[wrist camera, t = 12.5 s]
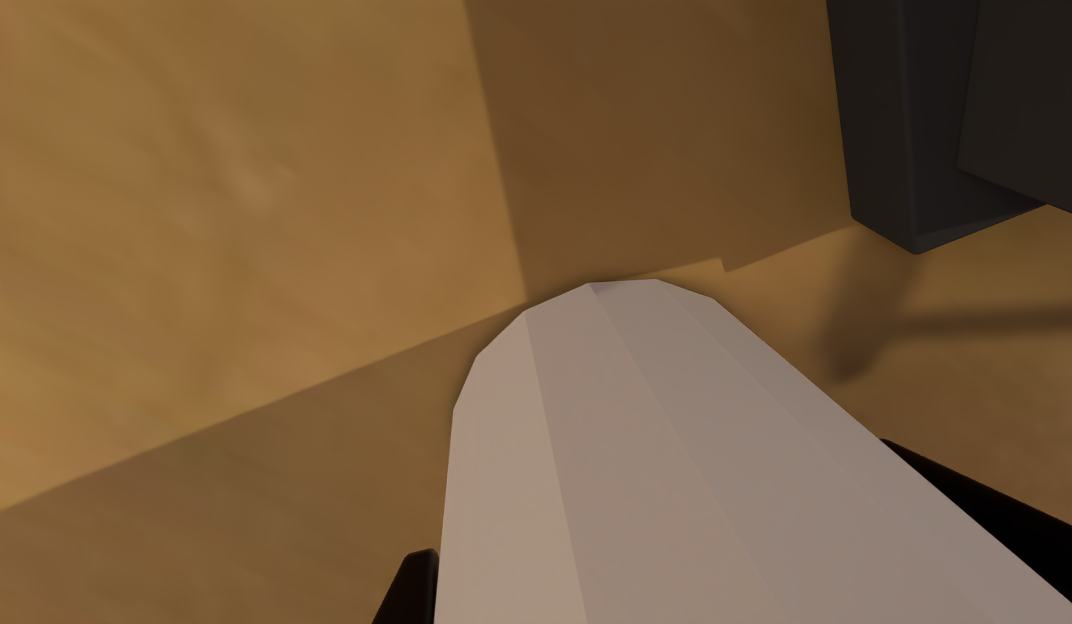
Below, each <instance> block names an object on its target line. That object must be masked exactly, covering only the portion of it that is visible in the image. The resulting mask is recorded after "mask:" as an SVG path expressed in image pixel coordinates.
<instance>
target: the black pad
mask: <svg viewBox="0 0 1072 624" xmlns="http://www.w3.org/2000/svg"><path fill="white" fill-rule="evenodd" d="M956 168H957V169H958V170H960V171H963V172H966V173H968V174H971V175H973V176H976V177H979V178H981V179H984V180H986V181H989V182H992V183H994V184H997V185H1000V186H1002V187H1005V188H1007V189H1010V190H1013V191H1015V192H1018V193H1020V194H1023V195H1026V196H1028V197H1031V198H1033V199H1036V200H1039V201H1041V202H1044V203H1046V204H1049V205H1052V206H1054V207H1057V208H1060V209H1062V210H1065V211H1067V212H1070V213H1072V0H980V1H979V8H978V15H977V22H976V29H975V36H974V43H973V49H972V56H971V63H970V70H969V77H968V84H967V91H966V98H965V105H964V112H963V119H962V125H961V132H960V139H959V146H958V153H957V160H956Z"/></svg>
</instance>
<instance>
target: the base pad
mask: <svg viewBox="0 0 1072 624" xmlns="http://www.w3.org/2000/svg"><path fill="white" fill-rule="evenodd" d="M979 1H980V0H826V3H827V11H828V20H829V28H830V37H831V45H832V54H833V62H834V71H835V80H836V88H837V97H838V105H839V114H840V122H841V131H842V139H843V148H844V156H845V165H846V173H847V182H848V190H849V199H850V207H851V215H852V217H853V219H855V220H856V221H858V222H860V223H861V224H863V225H865V226H866V227H868V228H870V229H872V230H873V231H875V232H877V233H878V234H880V235H882V236H883V237H885V238H887V239H888V240H890V241H892V242H893V243H895V244H897V245H899V246H900V247H902V248H904V249H905V250H907V251H909V252H910V253H912V254H915V255H916V254H921V253H923V252H926V251H929V250H931V249H934V248H936V247H939V246H941V245H944V244H946V243H949V242H952V241H954V240H957V239H959V238H962V237H964V236H967V235H969V234H972V233H975V232H977V231H980V230H982V229H985V228H987V227H990V226H992V225H995V224H998V223H1000V222H1003V221H1005V220H1008V219H1010V218H1013V217H1015V216H1018V215H1021V214H1023V213H1026V212H1028V211H1031V210H1033V209H1036V208H1038V207H1041V206H1044V205H1046V203H1044V202H1041V201H1039V200H1036V199H1033V198H1031V197H1028V196H1026V195H1023V194H1020V193H1018V192H1015V191H1013V190H1010V189H1007V188H1005V187H1002V186H1000V185H997V184H994V183H992V182H989V181H986V180H984V179H981V178H979V177H976V176H973V175H971V174H968V173H966V172H963V171H960V170H958V169H957V168H956V160H957V153H958V146H959V139H960V132H961V125H962V119H963V112H964V105H965V98H966V91H967V84H968V77H969V70H970V63H971V56H972V49H973V43H974V36H975V29H976V22H977V15H978V8H979Z"/></svg>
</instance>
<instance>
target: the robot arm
mask: <svg viewBox="0 0 1072 624" xmlns="http://www.w3.org/2000/svg"><path fill="white" fill-rule="evenodd" d="M879 440H880V441H881V442H883V443H884V444H885V445H886V446H887V447H889V448H890V449H891V450H892V451H893V452H894V453H896V454H897V455H898V456H899V457H900V458H901V459H903V460H904V461H905V462H906V463H907V464H909V465H910V466H911V467H912V468H913V469H914V470H916V471H917V472H918V473H919V474H920V475H921V476H923V477H924V478H925V479H926V480H927V481H929V482H930V483H931V484H932V485H933V486H934V487H936V488H937V489H938V490H939V491H940V492H942V493H943V494H944V495H945V496H946V497H947V498H949V499H950V500H951V501H952V502H953V503H954V504H956V505H957V506H958V507H959V508H960V509H962V510H963V511H964V512H965V513H966V514H967V515H969V516H970V517H971V518H972V519H973V520H974V521H976V522H977V523H978V524H979V525H980V526H982V527H983V528H984V529H985V530H986V531H987V532H989V533H990V534H991V535H992V536H993V537H994V538H996V539H997V540H998V541H999V542H1000V543H1002V544H1003V545H1004V546H1005V547H1006V548H1007V549H1009V550H1010V551H1011V552H1012V553H1013V554H1015V555H1016V556H1017V557H1018V558H1019V559H1020V560H1022V561H1023V562H1024V563H1025V564H1026V565H1027V566H1029V567H1030V568H1031V569H1032V570H1033V571H1035V572H1036V573H1037V574H1038V575H1039V576H1040V577H1042V578H1043V579H1044V580H1045V581H1046V582H1047V583H1049V584H1050V585H1051V586H1052V587H1053V588H1055V589H1056V590H1057V591H1058V592H1059V593H1060V594H1062V595H1063V596H1064V597H1065V598H1066V599H1068V600H1069V601H1070V602H1071V603H1072V525H1070V524H1068V523H1065V522H1063V521H1061V520H1059V519H1057V518H1055V517H1053V516H1050V515H1048V514H1046V513H1044V512H1042V511H1040V510H1037V509H1035V508H1033V507H1031V506H1029V505H1027V504H1025V503H1022V502H1020V501H1018V500H1016V499H1014V498H1012V497H1009V496H1007V495H1005V494H1003V493H1001V492H999V491H997V490H994V489H992V488H990V487H988V486H986V485H984V484H981V483H979V482H977V481H975V480H973V479H971V478H969V477H966V476H964V475H962V474H960V473H958V472H956V471H953V470H951V469H949V468H947V467H945V466H943V465H941V464H938V463H936V462H934V461H932V460H930V459H928V458H925V457H923V456H921V455H919V454H917V453H915V452H913V451H910V450H908V449H906V448H904V447H902V446H900V445H897V444H895V443H893V442H891V441H889V440H886V439H879ZM439 562H440V560H439V557H438V554H437V552H436V551H435V550H434V549H430V548H429V549H425V550H421V551H417V552H413V553H410V554H408V555H407V556H406V557H405V558H404V560H403V562H402V564H401V566H400V568H399V570H398V572H397V574H396V576H395V578H394V580H393V582H392V584H391V586H390V588H389V590H388V592H387V594H386V596H385V598H384V600H383V602H382V604H381V606H380V608H379V610H378V612H377V614H376V616H375V618H374V620H373V622H372V624H434V616H435V605H436V595H437V584H438V573H439Z"/></svg>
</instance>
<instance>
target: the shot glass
mask: <svg viewBox="0 0 1072 624" xmlns="http://www.w3.org/2000/svg"><path fill="white" fill-rule="evenodd" d="M434 624H1072V603H1071V602H1070V601H1069V600H1068V599H1066V598H1065V597H1064V596H1063V595H1062V594H1060V593H1059V592H1058V591H1057V590H1056V589H1055V588H1053V587H1052V586H1051V585H1050V584H1049V583H1047V582H1046V581H1045V580H1044V579H1043V578H1042V577H1040V576H1039V575H1038V574H1037V573H1036V572H1035V571H1033V570H1032V569H1031V568H1030V567H1029V566H1027V565H1026V564H1025V563H1024V562H1023V561H1022V560H1020V559H1019V558H1018V557H1017V556H1016V555H1015V554H1013V553H1012V552H1011V551H1010V550H1009V549H1007V548H1006V547H1005V546H1004V545H1003V544H1002V543H1000V542H999V541H998V540H997V539H996V538H994V537H993V536H992V535H991V534H990V533H989V532H987V531H986V530H985V529H984V528H983V527H982V526H980V525H979V524H978V523H977V522H976V521H974V520H973V519H972V518H971V517H970V516H969V515H967V514H966V513H965V512H964V511H963V510H962V509H960V508H959V507H958V506H957V505H956V504H954V503H953V502H952V501H951V500H950V499H949V498H947V497H946V496H945V495H944V494H943V493H942V492H940V491H939V490H938V489H937V488H936V487H934V486H933V485H932V484H931V483H930V482H929V481H927V480H926V479H925V478H924V477H923V476H921V475H920V474H919V473H918V472H917V471H916V470H914V469H913V468H912V467H911V466H910V465H909V464H907V463H906V462H905V461H904V460H903V459H901V458H900V457H899V456H898V455H897V454H896V453H894V452H893V451H892V450H891V449H890V448H889V447H887V446H886V445H885V444H884V443H883V442H881V441H880V440H879V439H878V438H877V437H876V436H874V435H873V434H872V433H871V432H870V431H869V430H867V429H866V428H865V427H864V426H863V425H861V424H860V423H859V422H858V421H857V420H856V419H854V418H853V417H852V416H851V415H850V414H848V413H847V412H846V411H845V410H844V409H843V408H841V407H840V406H839V405H838V404H837V403H836V402H834V401H833V400H832V399H831V398H830V397H828V396H827V395H826V394H825V393H824V392H823V391H821V390H820V389H819V388H818V387H817V386H816V385H814V384H813V383H812V382H811V381H810V380H808V379H807V378H806V377H805V376H804V375H803V374H801V373H800V372H799V371H798V370H797V369H796V368H794V367H793V366H792V365H791V364H790V363H788V362H787V361H786V360H785V359H784V358H783V357H781V356H780V355H779V354H778V353H777V352H775V351H774V350H773V349H772V348H771V347H770V346H768V345H767V344H766V343H765V342H764V341H763V340H761V339H760V338H759V337H758V336H757V335H755V334H754V333H753V332H752V331H751V330H750V329H748V328H747V327H746V326H745V325H744V324H743V323H741V322H740V321H739V320H738V319H737V318H735V317H734V316H733V315H732V314H731V313H730V312H728V311H727V310H726V309H725V308H724V307H722V306H721V305H720V304H719V303H718V302H717V301H715V300H714V299H713V298H710V297H707V296H704V295H701V294H698V293H695V292H692V291H689V290H687V289H684V288H681V287H678V286H675V285H672V284H669V283H666V282H663V281H660V280H658V279H647V280H630V281H612V282H595V283H587V284H585V285H582V286H580V287H578V288H575V289H573V290H571V291H568V292H566V293H564V294H561V295H559V296H557V297H555V298H552V299H550V300H548V301H545V302H543V303H541V304H538V305H536V306H534V307H531V308H529V309H527V310H525V311H523V312H522V313H521V314H520V315H519V316H518V317H517V318H516V319H515V320H514V321H513V322H512V323H511V324H510V325H509V326H507V327H506V328H505V329H504V330H503V331H502V332H501V333H500V334H499V335H498V336H497V337H496V338H495V339H494V340H493V341H492V342H491V343H490V344H489V345H488V346H487V347H486V348H485V349H483V350H482V351H481V352H480V353H479V354H478V355H477V356H476V358H475V361H474V363H473V365H472V368H471V370H470V372H469V375H468V377H467V379H466V382H465V384H464V386H463V389H462V391H461V393H460V395H459V398H458V400H457V402H456V405H455V407H454V409H453V420H452V431H451V442H450V453H449V463H448V474H447V485H446V496H445V507H444V518H443V529H442V540H441V551H440V562H439V573H438V584H437V595H436V605H435V616H434Z"/></svg>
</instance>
